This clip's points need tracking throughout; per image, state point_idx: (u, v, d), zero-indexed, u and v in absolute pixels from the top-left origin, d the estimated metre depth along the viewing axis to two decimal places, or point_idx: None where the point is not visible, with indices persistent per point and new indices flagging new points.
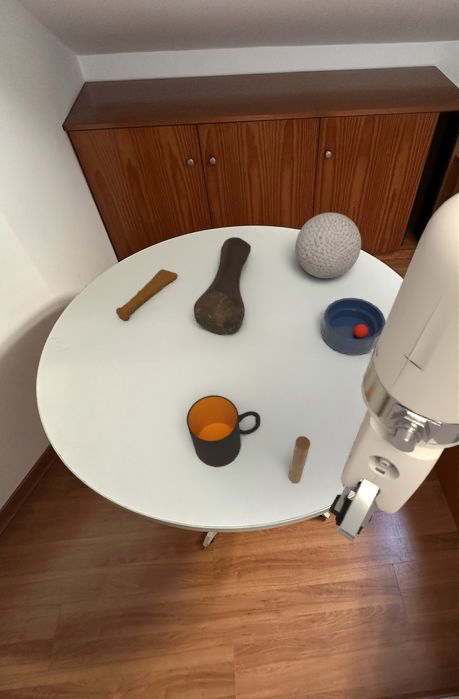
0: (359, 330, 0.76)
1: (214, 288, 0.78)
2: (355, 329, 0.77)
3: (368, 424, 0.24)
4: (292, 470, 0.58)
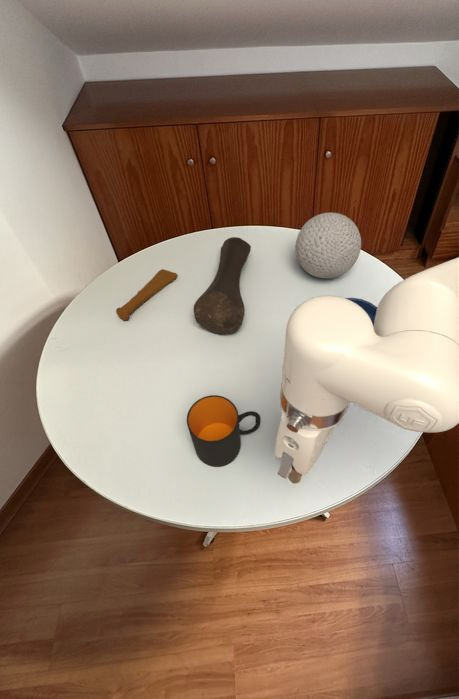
0: None
1: (214, 288, 0.78)
2: None
3: (281, 417, 0.41)
4: (292, 470, 0.58)
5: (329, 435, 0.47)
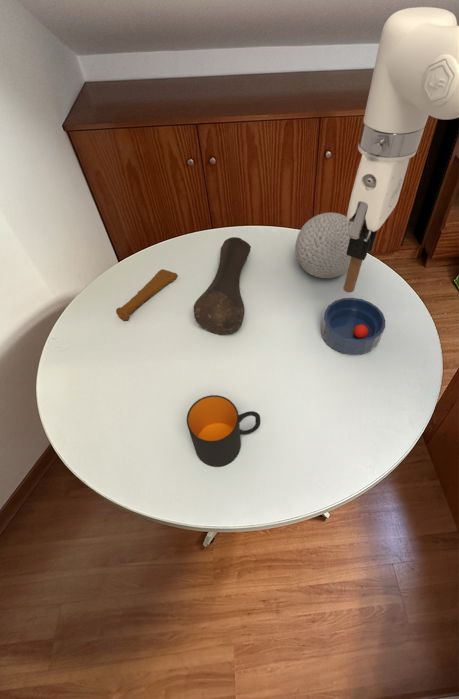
0: (359, 330, 0.76)
1: (214, 288, 0.78)
2: (355, 329, 0.77)
3: (361, 158, 0.49)
4: (350, 271, 0.65)
5: (393, 203, 0.55)
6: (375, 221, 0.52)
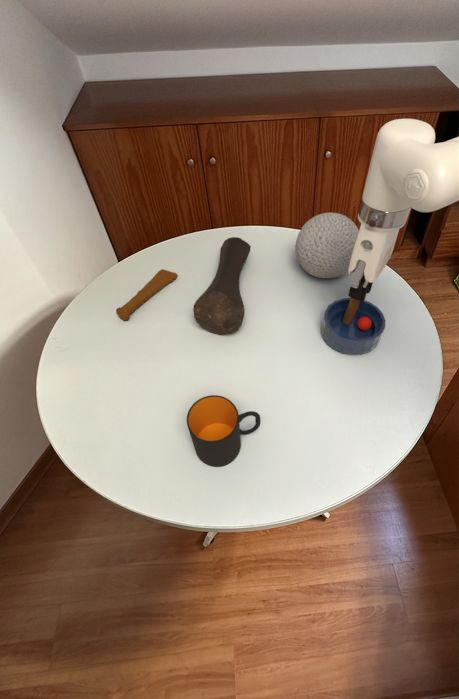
0: (365, 321, 0.77)
1: (213, 288, 0.78)
2: (365, 317, 0.78)
3: (360, 227, 0.59)
4: (349, 308, 0.76)
5: (387, 258, 0.65)
6: (372, 275, 0.62)
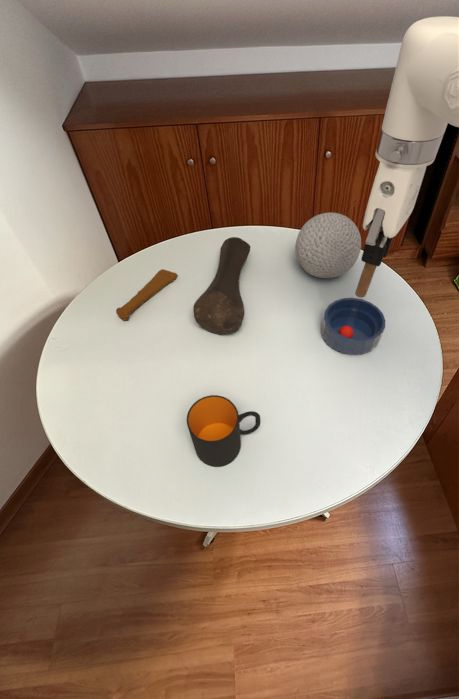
0: None
1: (213, 288, 0.78)
2: None
3: (379, 166, 0.49)
4: (363, 276, 0.65)
5: (410, 209, 0.55)
6: (392, 228, 0.52)
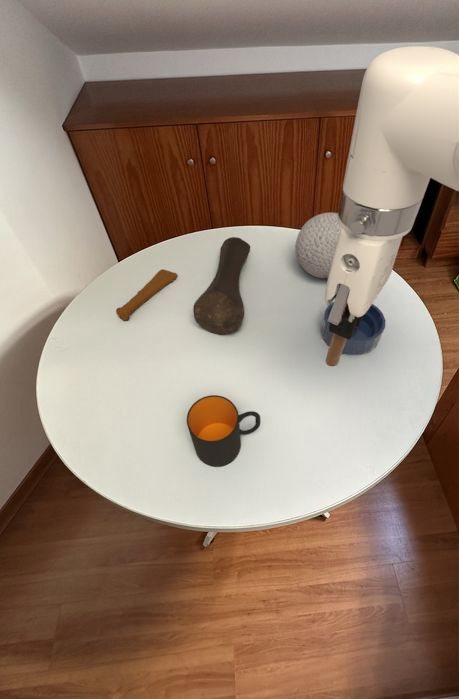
0: None
1: (213, 288, 0.78)
2: None
3: (340, 233, 0.37)
4: (332, 345, 0.54)
5: (384, 279, 0.43)
6: (360, 307, 0.41)
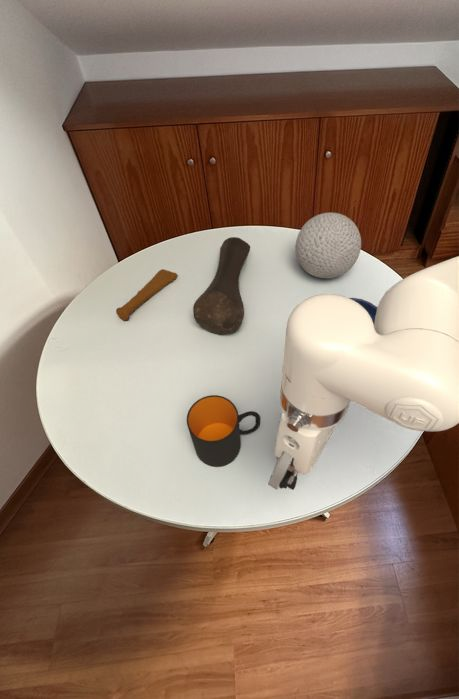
0: None
1: (213, 288, 0.78)
2: None
3: None
4: None
5: (329, 434, 0.47)
6: (304, 470, 0.44)
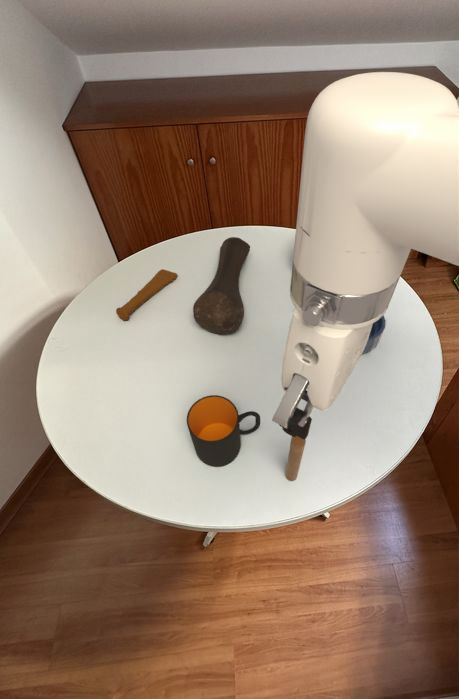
0: None
1: (213, 288, 0.78)
2: None
3: None
4: (288, 467, 0.58)
5: (357, 358, 0.34)
6: (323, 402, 0.31)
